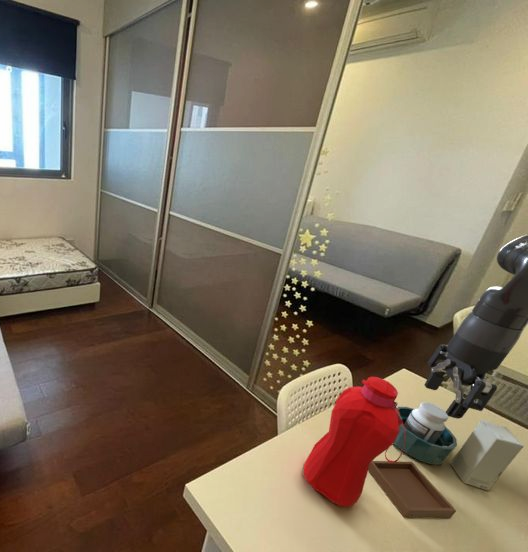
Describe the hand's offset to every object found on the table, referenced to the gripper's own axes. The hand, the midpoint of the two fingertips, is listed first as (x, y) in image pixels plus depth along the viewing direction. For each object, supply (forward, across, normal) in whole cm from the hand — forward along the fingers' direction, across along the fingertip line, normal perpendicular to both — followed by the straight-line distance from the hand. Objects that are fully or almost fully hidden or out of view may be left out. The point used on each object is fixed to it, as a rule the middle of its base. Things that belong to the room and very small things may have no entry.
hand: (440, 401), depth 68 cm
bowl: (+13, 0, 0) cm, 13 cm away
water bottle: (+13, -19, +21) cm, 31 cm away
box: (+13, -5, -8) cm, 16 cm away
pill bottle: (+12, 0, 0) cm, 13 cm away
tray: (+13, -14, +7) cm, 21 cm away
